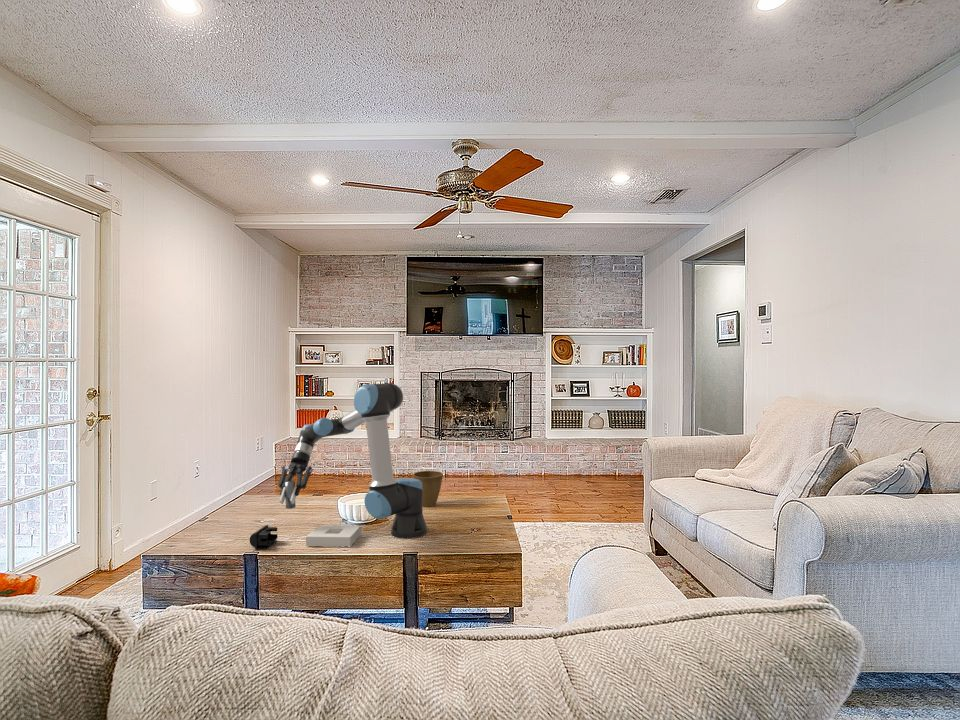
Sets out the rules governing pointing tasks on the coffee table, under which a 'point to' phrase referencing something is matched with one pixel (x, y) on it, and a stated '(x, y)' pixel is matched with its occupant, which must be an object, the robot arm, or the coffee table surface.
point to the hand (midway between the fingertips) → (286, 502)
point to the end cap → (263, 538)
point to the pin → (289, 494)
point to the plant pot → (429, 486)
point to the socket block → (333, 536)
